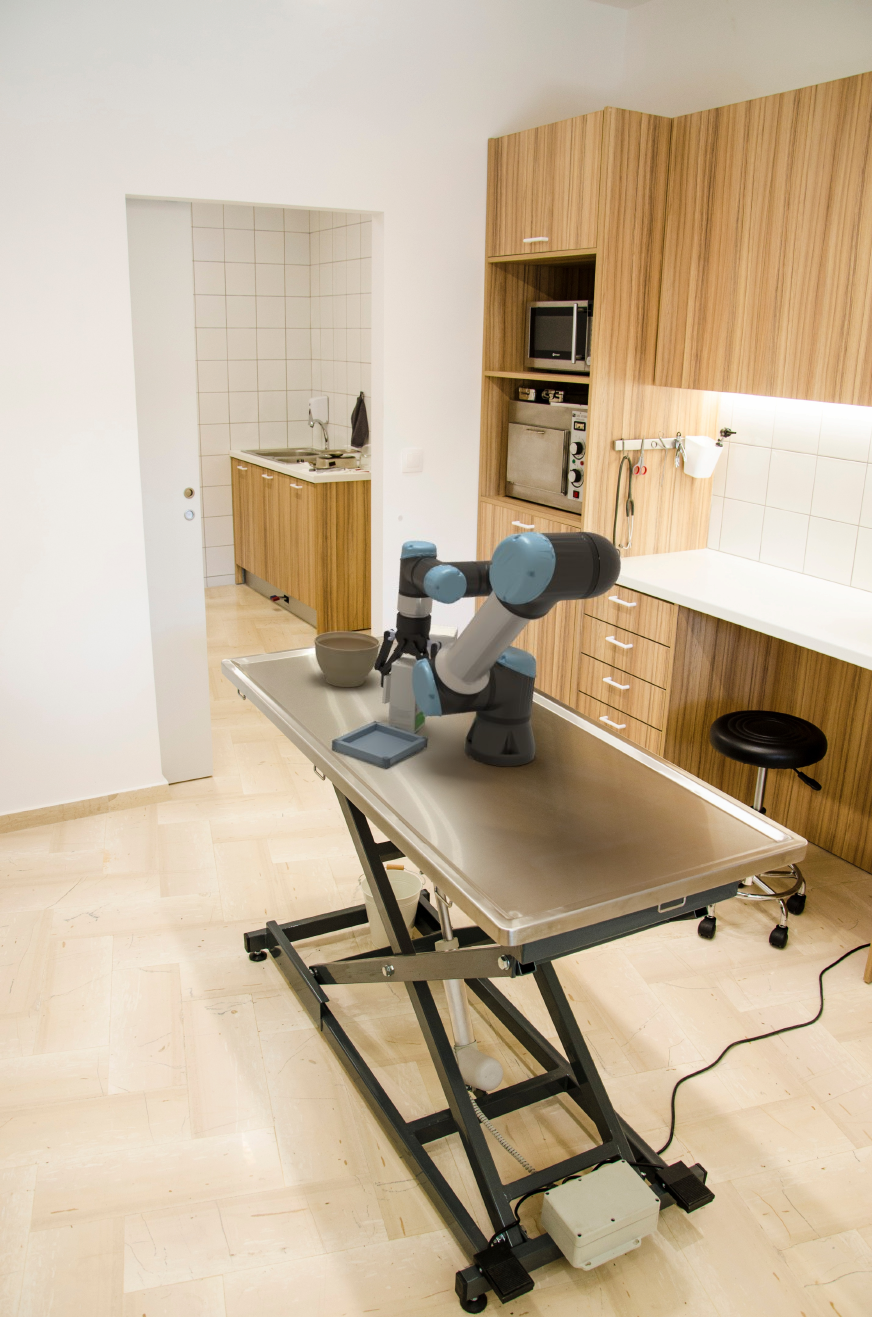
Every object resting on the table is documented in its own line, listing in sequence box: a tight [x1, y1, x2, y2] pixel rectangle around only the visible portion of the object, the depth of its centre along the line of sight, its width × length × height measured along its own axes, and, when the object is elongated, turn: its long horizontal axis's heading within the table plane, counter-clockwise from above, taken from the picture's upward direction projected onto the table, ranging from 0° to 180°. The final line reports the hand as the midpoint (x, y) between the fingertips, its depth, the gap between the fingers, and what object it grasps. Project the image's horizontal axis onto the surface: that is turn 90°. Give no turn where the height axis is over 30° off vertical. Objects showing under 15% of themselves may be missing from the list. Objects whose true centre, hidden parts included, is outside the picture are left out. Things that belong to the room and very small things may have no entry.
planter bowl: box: [313, 630, 381, 688], centre depth 245 cm, size 16×16×11 cm
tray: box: [331, 720, 429, 770], centre depth 208 cm, size 14×15×2 cm
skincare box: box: [387, 654, 426, 734], centre depth 219 cm, size 8×7×16 cm
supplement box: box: [421, 623, 459, 659], centre depth 246 cm, size 9×9×15 cm
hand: (407, 708), depth 220 cm, fingers open, 10 cm apart
